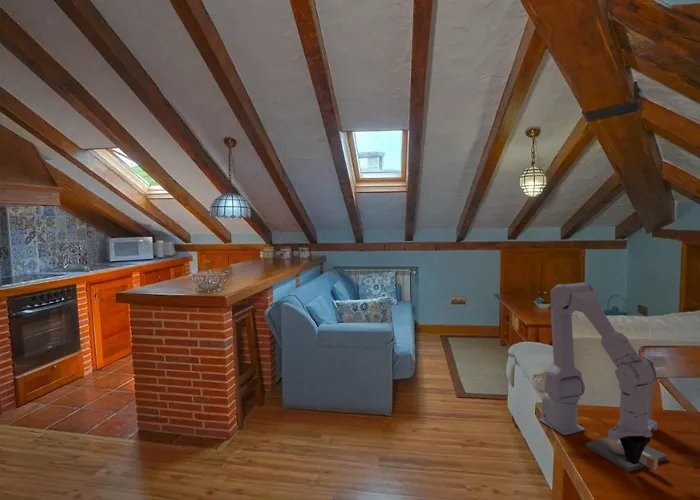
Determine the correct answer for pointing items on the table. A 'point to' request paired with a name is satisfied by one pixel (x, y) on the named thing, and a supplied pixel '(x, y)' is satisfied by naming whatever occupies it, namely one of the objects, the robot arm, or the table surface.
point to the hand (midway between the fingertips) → (632, 461)
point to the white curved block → (644, 459)
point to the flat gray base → (603, 449)
